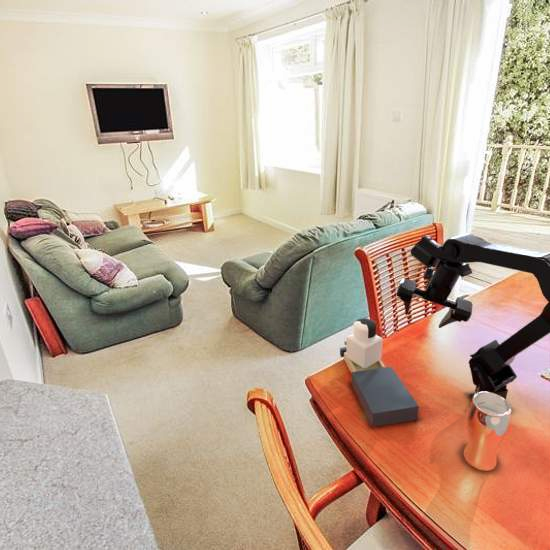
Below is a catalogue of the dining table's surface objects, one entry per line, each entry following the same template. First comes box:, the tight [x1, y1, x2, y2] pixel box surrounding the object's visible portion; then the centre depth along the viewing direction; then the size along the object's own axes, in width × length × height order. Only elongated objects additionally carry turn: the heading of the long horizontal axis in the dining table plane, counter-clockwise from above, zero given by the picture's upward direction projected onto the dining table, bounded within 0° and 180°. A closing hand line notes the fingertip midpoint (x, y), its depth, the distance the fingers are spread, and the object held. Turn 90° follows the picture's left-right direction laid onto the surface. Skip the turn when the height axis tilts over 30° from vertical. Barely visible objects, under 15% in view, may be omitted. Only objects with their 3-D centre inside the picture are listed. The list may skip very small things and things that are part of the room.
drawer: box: [339, 340, 386, 375], centre depth 108 cm, size 18×10×3 cm, turn 8°
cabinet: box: [350, 366, 420, 428], centre depth 94 cm, size 15×11×4 cm
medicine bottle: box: [346, 317, 384, 369], centre depth 104 cm, size 7×7×12 cm
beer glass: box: [463, 392, 512, 472], centre depth 75 cm, size 7×7×15 cm
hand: (422, 320), depth 105 cm, fingers open, 9 cm apart
